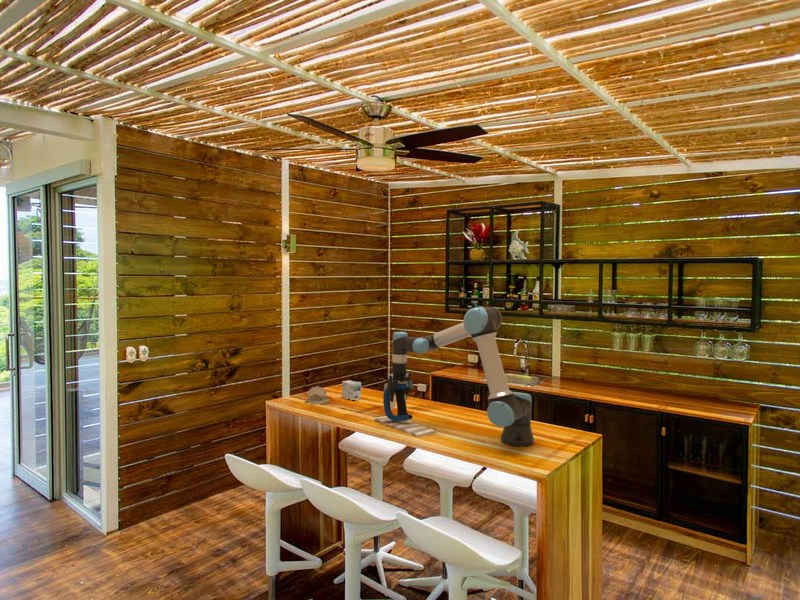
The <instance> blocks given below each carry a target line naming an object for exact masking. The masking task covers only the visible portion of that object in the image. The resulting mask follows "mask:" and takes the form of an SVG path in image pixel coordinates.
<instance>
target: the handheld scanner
mask: <svg viewBox="0 0 800 600" xmlns="http://www.w3.org/2000/svg"><path fill="white" fill-rule="evenodd" d="M387 383H388V382H386V383H383V384H382V388H383V389H382V390H383V398H382V399H383V410H384V414H385V416H387V417H388V418H389V419H390V420H393V421H399V420H408V421H410V420H412V419H413V415H412V414H409V413H408V409H407V400H406V401H405V398H404V394H405V389H407V388H409V389H410V390H413V389H414V385H413V380H412V379H410V380H408V381H404V382H400V381H398V383H397V386H396V390H395V393H394V395H395V403H396V408H397V409H396V410H397V414H396V415H395V414H394V413H393V411H392V408H391V401H390V395H389V394H387Z"/></svg>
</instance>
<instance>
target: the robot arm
mask: <svg viewBox="0 0 800 600" xmlns="http://www.w3.org/2000/svg"><path fill="white" fill-rule="evenodd" d="M502 321H503V317H502V314H501V312H500V311H499V310H498V309H497V308H495V307H493V306H482V307H481V306H476V307H472V308H470V309H468V310H467V311H466V313H465V315H464V317H463V321H462V322H461V323H458V324H455V325H453V326H450V327H447V328H445V329H443V330H440V331H438V332H435V333H433V334H431V335H427V336H418V337H415V336H414V337H413V336H408V332H406V331H395V332H393V334H392V355H391V356H392V358H391V361H392V363H391V370H392V372H391V374H387V375H386V378H387V382H386V383H387V394H389V395H390V406H391V409H396V396H395V390H396V386H397V383H398V382H404V381H408V380H411V375H412V374H411V373H410V372H407V369H408V367H407V366H408V363H407V361H408V353H415V354H426V353H427V352H429V351H436V350H438V349H440V348H441V347H444V346H447V345H450V344H452V343H455V342H458V341H461V340H464V339H466V338H468V337H469V338H470V337H471V339H472V340H473V341H474V342H475V343H476V345H477V349H478V353H479V357H480V360H481V365H482V369H483V372H484V376H485V380H486V384H487V386H488V387H487V388H488V390H489V395H488V397H487V400H488V407H487V409H486V414H487V418H488V420H489V421H490V422H491V423H492V424H493V425H494V426H496V427H499V428H503V429H502V433H501V435H500V442H501V441H502V442H501V443H502V444H505V445H507V444H509V445H508V446H511V445H515V446H514V447H520V446H524V447H529V446H528V445H531V446H533V445H534V444H535V437H534V436H533V435H534V434H533V431H532V427H531V425H532V423H531V422H532V403H533V401H532V396H531V394H530V393H525V392H521V391H520V392H519V391H512V390H511V389H510V388H509V385H508V380H507V378H506V374H505V370H504V366H503V363H502V359H501V355H500V352H499V348H498V344H497V340H496V336H497V334H498V331H497V330H498V329H499V328H500V327H501V325H502ZM409 393H411V389H409V388H407V389H405V394H404V398H405V401H406V402H407V400H408V395H409ZM533 443H534V444H533ZM532 444H533V445H532Z"/></svg>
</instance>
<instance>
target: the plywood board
mask: <svg viewBox="0 0 800 600" xmlns="http://www.w3.org/2000/svg"><path fill="white" fill-rule="evenodd" d="M373 420H374V421H375V420H376V422H378V421H379V422H378V423H380V422H381V423H380V424H383V423H384V424H383V425H385V424H386V426H388V425H389V427H390V426H391V428H393V427H394V428H393V429H395V428H396V430H397V431H398V430H399V431H400V430H401V432H403V433H405V432H406V433H405V434H409V435H411V436H413V437H415V436H416V437H415V438H419V437H424V436H428V435H429V436H430V435H434V433H435V434H437V430H435V429H432V428H430V427H428V426H424V425H421V424H418V423H416V422H413V421H410V420H399V421H393V420H390V419H389V418H388V417H387V416H386V415H385V416H384V415H383V416H377V417H374V419H373Z"/></svg>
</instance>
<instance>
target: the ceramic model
mask: <svg viewBox="0 0 800 600" xmlns="http://www.w3.org/2000/svg"><path fill="white" fill-rule="evenodd" d="M307 397H308V398H307V399H306V404H307V403H311V404H310V405H316V404H320V405H327V404H326V403H328V402H330V398H329V397H328V398H327V391H326V389H325V388H324V387H320V386H319V385H316V386H312V387H311V388H310V389H309V390H308V391H307ZM328 404H329V403H328Z"/></svg>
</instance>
